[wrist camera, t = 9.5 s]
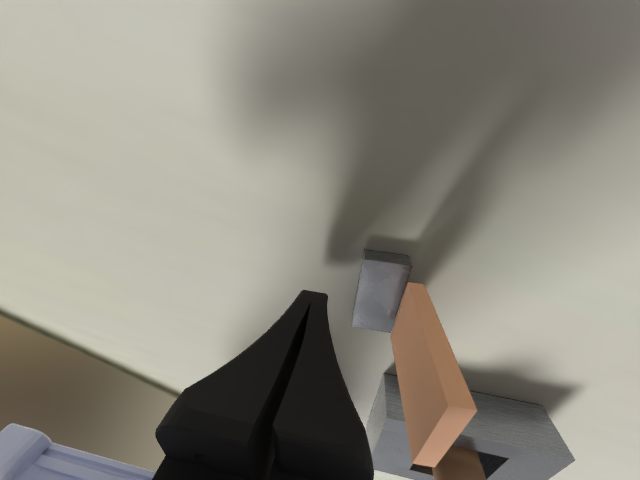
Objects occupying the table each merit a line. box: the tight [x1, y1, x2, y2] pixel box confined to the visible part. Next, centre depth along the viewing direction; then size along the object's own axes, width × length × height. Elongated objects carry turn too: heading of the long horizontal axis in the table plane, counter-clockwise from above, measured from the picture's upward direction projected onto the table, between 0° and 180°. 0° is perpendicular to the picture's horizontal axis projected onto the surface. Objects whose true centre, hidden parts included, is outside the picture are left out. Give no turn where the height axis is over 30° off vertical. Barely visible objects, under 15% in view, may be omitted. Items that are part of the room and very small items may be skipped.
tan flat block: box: [391, 282, 478, 467], centre depth 10 cm, size 4×1×6 cm, turn 176°
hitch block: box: [367, 374, 575, 480], centre depth 18 cm, size 8×11×3 cm
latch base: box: [352, 250, 412, 333], centre depth 14 cm, size 5×2×1 cm, turn 176°
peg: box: [432, 445, 486, 480], centre depth 16 cm, size 3×3×7 cm
